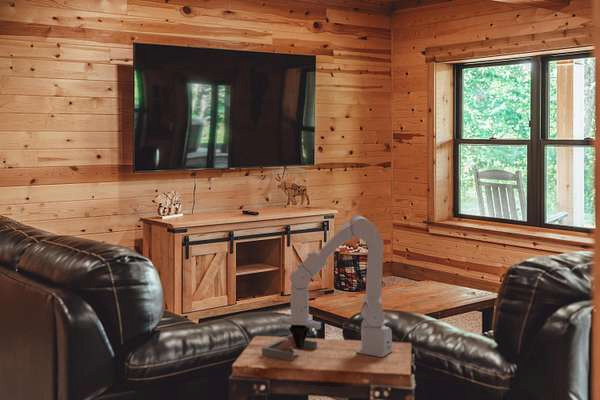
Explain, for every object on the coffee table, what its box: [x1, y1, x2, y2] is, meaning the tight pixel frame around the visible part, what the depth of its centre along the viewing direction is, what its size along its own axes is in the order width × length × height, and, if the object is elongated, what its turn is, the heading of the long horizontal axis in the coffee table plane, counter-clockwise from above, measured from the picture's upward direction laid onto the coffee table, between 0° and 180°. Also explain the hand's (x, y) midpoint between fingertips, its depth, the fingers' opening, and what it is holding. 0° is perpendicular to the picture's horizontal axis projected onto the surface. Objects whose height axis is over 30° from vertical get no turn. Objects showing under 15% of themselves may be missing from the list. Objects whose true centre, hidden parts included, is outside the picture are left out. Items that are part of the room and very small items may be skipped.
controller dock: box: [261, 337, 318, 362], centre depth 239 cm, size 11×15×2 cm
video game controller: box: [275, 333, 296, 352], centre depth 239 cm, size 10×5×7 cm, turn 158°
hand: (299, 348), depth 237 cm, fingers closed
